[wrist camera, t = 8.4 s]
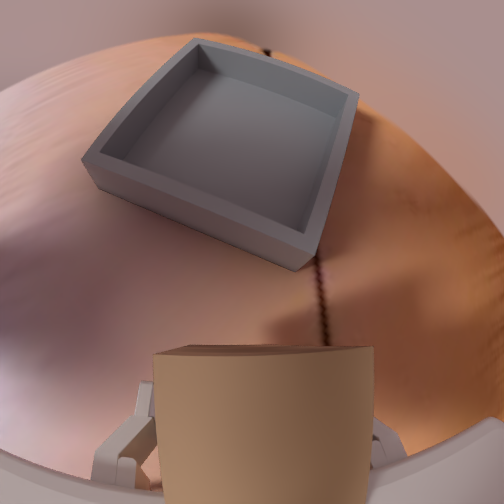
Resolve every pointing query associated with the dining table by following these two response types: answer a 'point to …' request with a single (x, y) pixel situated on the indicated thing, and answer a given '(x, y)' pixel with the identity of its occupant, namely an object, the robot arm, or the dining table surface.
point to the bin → (231, 149)
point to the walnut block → (264, 423)
